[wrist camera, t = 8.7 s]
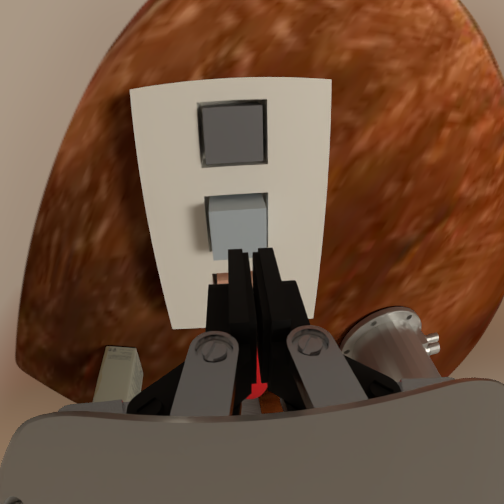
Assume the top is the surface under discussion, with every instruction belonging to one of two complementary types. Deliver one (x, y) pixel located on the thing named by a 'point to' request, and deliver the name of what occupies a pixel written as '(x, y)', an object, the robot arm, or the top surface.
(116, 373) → the skincare box
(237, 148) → the charcoal button
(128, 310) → the top surface
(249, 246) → the slate button
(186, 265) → the button panel
